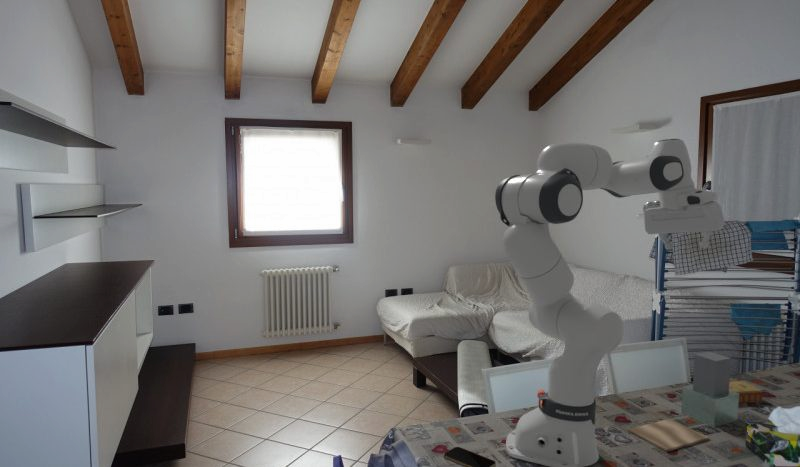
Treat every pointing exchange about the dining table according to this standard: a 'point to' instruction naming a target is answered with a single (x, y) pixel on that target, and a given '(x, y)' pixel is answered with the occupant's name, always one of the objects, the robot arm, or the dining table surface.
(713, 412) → the grey-green block
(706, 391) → the grey rectangular block
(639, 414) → the dining table surface
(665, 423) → the mat
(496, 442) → the dining table surface
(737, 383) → the carton
